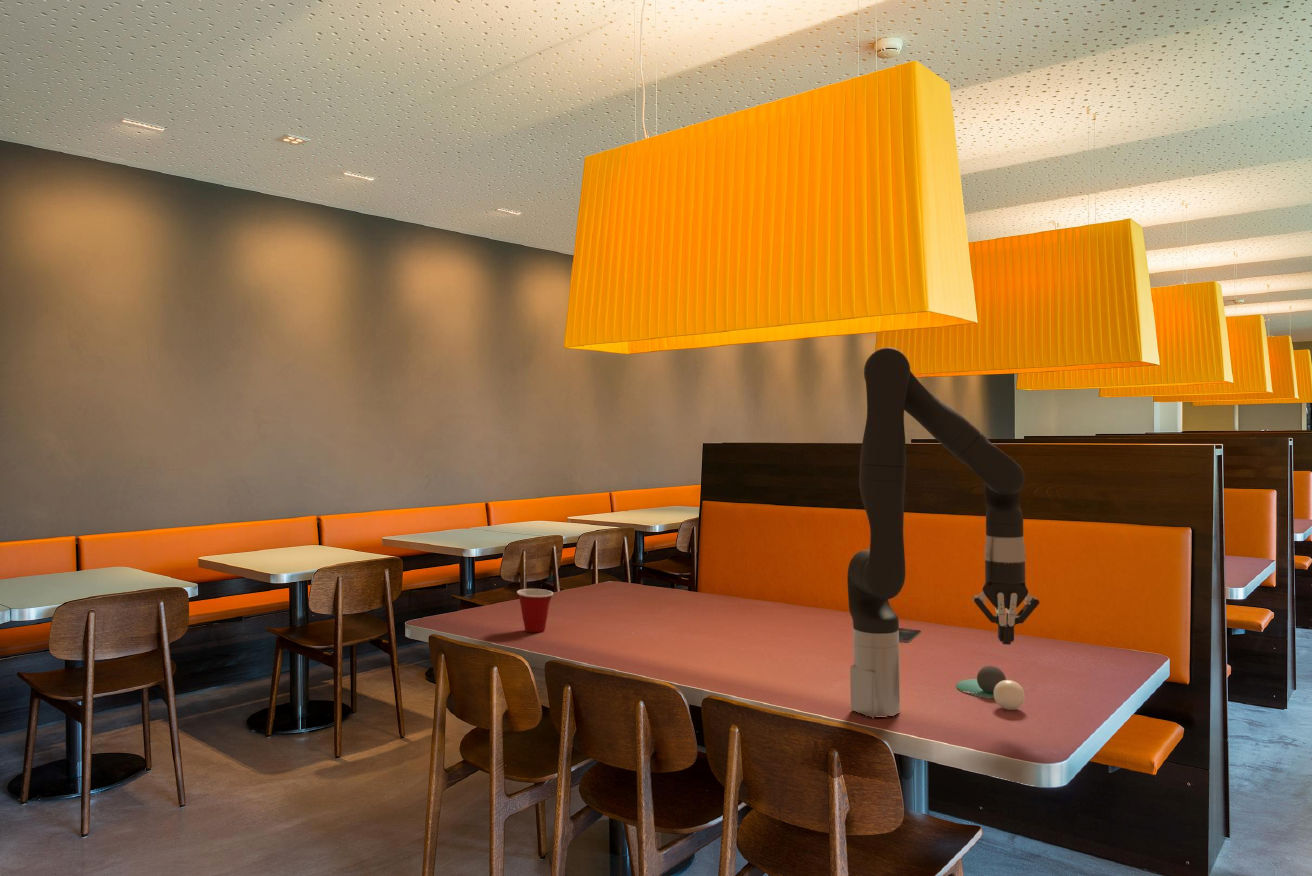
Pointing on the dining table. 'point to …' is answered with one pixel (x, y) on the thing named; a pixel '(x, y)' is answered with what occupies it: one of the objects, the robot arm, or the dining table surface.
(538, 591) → the plastic cup
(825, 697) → the dining table surface
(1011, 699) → the cue ball
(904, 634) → the smartphone
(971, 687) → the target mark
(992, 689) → the object ball
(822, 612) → the dining table surface
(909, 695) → the dining table surface
